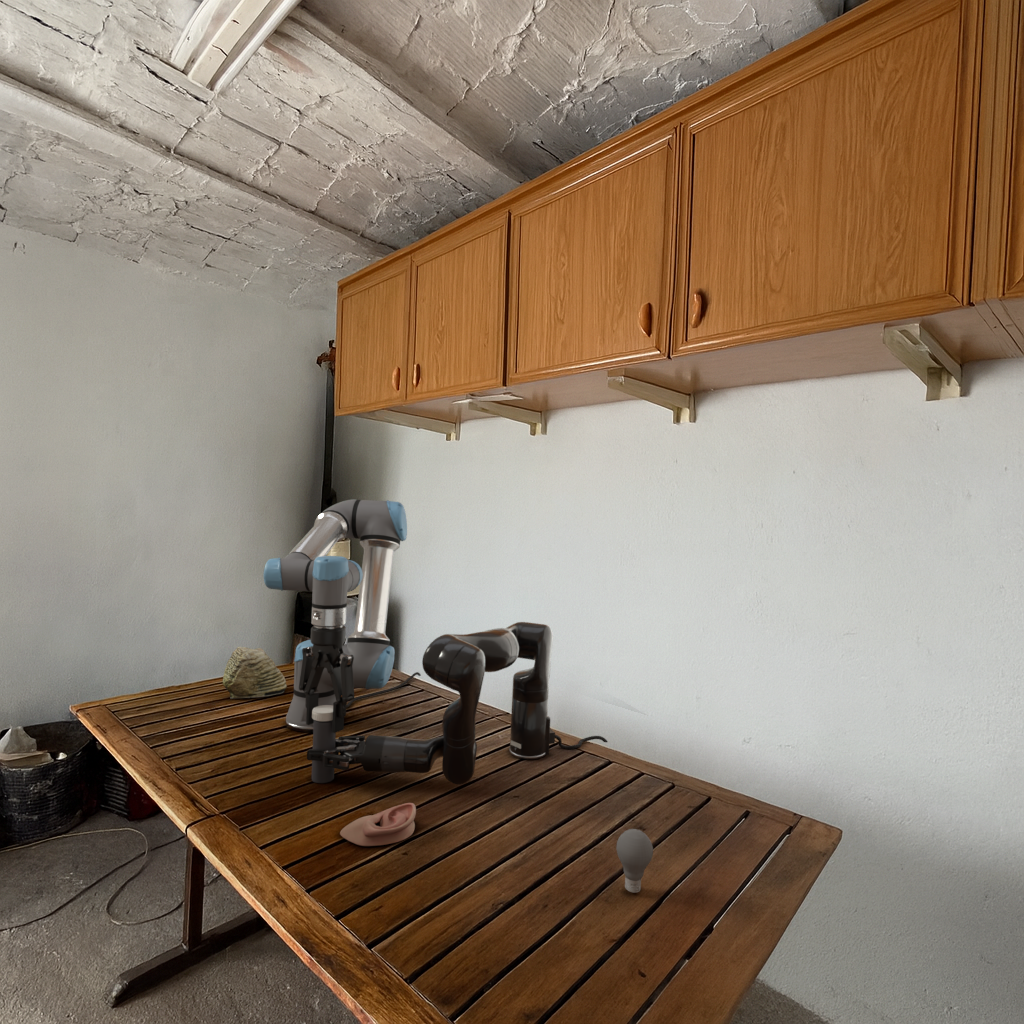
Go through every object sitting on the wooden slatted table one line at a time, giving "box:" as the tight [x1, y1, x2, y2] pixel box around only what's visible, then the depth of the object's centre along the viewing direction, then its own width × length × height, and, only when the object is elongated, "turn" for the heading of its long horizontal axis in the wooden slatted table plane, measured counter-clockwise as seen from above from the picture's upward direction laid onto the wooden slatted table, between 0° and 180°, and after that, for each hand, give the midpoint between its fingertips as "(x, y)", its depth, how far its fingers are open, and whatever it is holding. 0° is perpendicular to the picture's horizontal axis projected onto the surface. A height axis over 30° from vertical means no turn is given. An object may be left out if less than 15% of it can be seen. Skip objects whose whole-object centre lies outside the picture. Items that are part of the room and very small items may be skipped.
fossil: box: [222, 646, 288, 699], centre depth 198 cm, size 9×18×15 cm, turn 132°
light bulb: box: [615, 828, 654, 894], centre depth 106 cm, size 6×6×10 cm
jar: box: [311, 720, 337, 784], centre depth 142 cm, size 5×5×15 cm
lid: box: [312, 705, 333, 721], centre depth 142 cm, size 6×6×2 cm
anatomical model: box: [339, 802, 417, 847], centre depth 121 cm, size 13×4×12 cm
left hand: (324, 726), depth 142 cm, fingers open, 7 cm apart
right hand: (312, 749), depth 142 cm, fingers closed on jar, 5 cm apart
